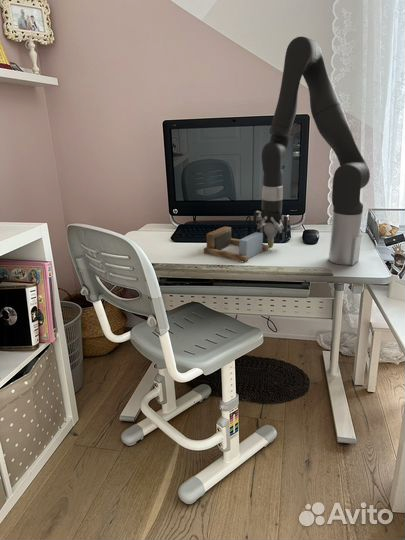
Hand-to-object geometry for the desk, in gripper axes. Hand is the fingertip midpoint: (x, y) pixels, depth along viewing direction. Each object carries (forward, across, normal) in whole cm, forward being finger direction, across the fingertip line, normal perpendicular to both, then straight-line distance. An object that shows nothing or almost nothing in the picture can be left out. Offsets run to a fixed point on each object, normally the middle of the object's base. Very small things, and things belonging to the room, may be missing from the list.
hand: (270, 239), depth 163 cm
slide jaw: (+3, +2, +12) cm, 12 cm away
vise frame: (+3, +8, +12) cm, 15 cm away
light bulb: (+3, 0, 0) cm, 3 cm away
